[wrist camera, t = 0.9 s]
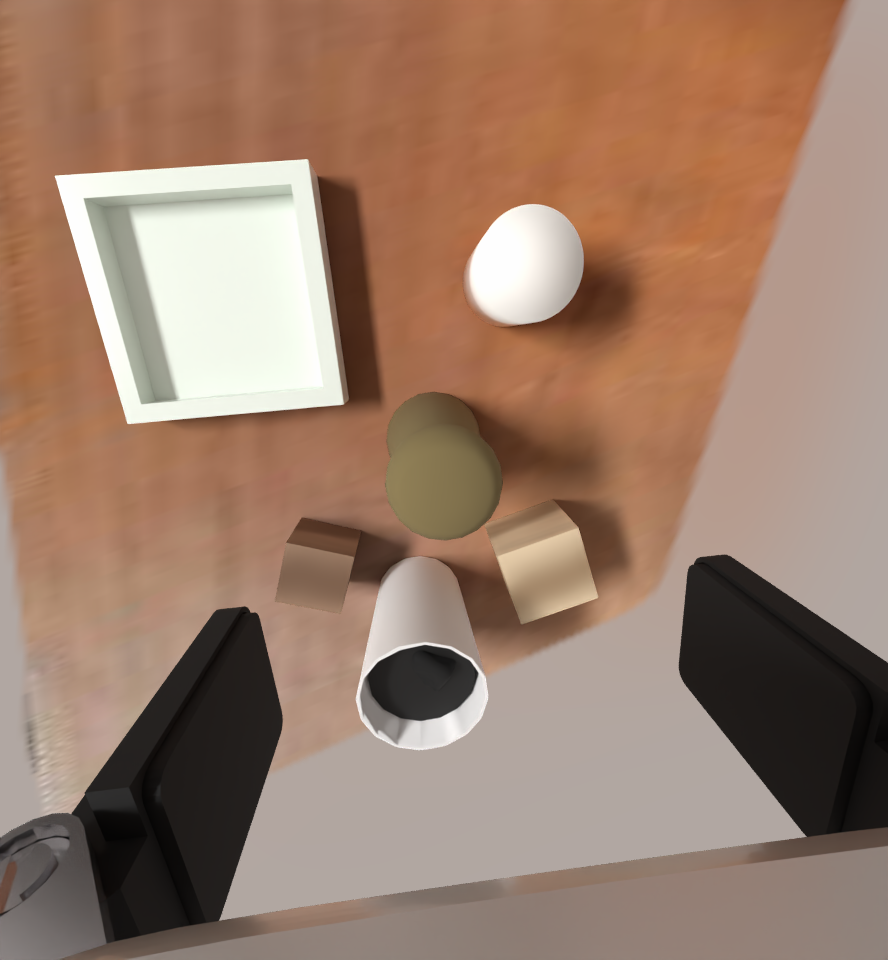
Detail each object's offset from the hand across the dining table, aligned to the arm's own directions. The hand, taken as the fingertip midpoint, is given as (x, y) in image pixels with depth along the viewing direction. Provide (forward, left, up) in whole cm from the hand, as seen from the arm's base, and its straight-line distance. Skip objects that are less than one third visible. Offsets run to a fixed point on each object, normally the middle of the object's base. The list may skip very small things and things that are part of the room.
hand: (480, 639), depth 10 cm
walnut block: (+7, -8, -20) cm, 23 cm away
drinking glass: (+11, -2, -20) cm, 23 cm away
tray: (-9, -11, -20) cm, 25 cm away
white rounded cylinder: (-9, +5, -20) cm, 23 cm away
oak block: (+8, +6, -20) cm, 23 cm away
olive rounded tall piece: (0, 0, -20) cm, 20 cm away
